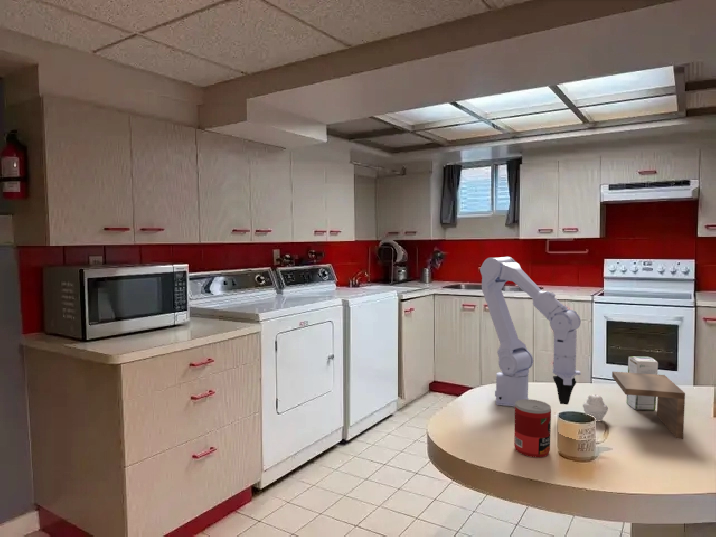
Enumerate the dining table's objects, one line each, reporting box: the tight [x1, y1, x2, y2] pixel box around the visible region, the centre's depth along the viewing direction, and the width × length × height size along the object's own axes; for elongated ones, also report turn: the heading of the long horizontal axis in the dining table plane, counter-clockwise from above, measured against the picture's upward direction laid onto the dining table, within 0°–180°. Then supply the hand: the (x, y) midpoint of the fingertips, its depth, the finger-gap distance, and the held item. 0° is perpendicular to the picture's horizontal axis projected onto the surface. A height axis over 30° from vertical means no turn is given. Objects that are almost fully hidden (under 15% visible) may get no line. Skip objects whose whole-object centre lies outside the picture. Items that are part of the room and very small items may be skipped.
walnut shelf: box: [611, 371, 686, 440], centre depth 130 cm, size 13×16×12 cm
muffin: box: [582, 394, 609, 421], centre depth 133 cm, size 6×6×7 cm
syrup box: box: [625, 355, 659, 411], centre depth 142 cm, size 6×6×14 cm
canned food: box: [513, 398, 552, 459], centre depth 114 cm, size 8×8×11 cm
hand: (563, 403), depth 136 cm, fingers closed
